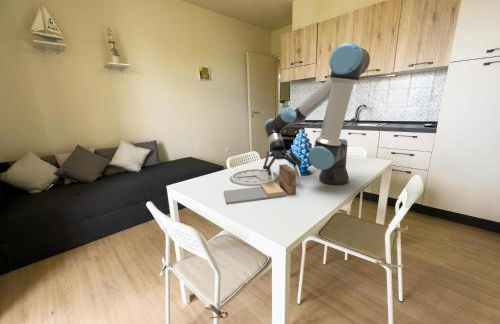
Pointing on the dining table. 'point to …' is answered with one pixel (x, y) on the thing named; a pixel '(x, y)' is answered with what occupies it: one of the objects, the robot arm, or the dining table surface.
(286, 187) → the brown wooden square block
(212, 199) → the dining table surface
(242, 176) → the wall clock
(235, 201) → the underlay board
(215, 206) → the dining table surface
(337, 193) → the dining table surface
